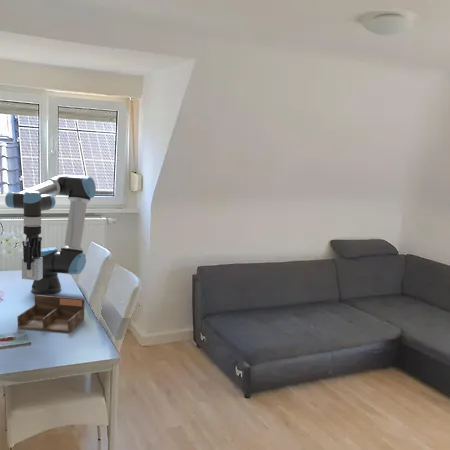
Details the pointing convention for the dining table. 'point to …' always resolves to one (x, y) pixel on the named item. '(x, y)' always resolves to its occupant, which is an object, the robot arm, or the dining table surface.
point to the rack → (53, 314)
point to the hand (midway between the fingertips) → (32, 275)
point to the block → (36, 269)
